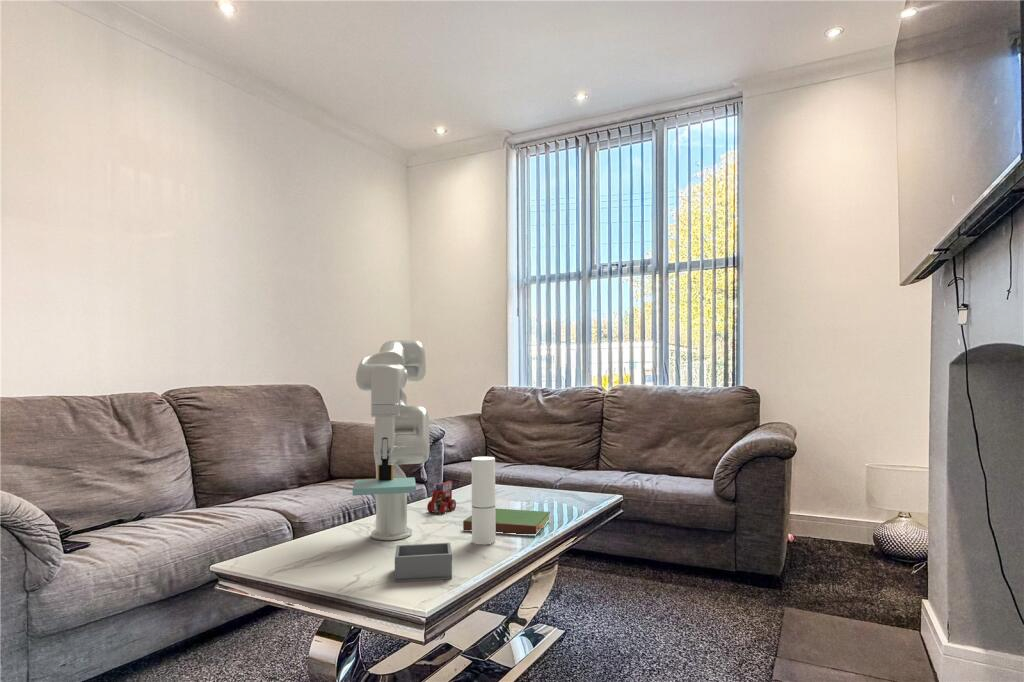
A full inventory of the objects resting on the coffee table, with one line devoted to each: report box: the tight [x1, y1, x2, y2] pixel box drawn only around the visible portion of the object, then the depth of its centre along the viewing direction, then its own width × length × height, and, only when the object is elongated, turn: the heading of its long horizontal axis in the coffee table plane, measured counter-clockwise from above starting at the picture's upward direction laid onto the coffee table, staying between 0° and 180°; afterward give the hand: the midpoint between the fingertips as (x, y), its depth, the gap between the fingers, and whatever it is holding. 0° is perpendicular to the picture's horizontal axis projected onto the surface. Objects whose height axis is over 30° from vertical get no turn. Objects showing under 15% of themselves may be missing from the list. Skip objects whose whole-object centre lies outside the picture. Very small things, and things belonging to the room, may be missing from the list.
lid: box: [352, 464, 417, 497], centre depth 153 cm, size 12×16×6 cm
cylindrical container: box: [471, 456, 497, 545], centre depth 178 cm, size 7×7×25 cm
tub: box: [394, 542, 453, 583], centre depth 150 cm, size 10×14×6 cm
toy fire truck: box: [426, 480, 457, 514], centre depth 216 cm, size 7×12×10 cm, turn 153°
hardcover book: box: [462, 507, 551, 534], centre depth 194 cm, size 25×19×4 cm
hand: (385, 478), depth 158 cm, fingers closed on lid
